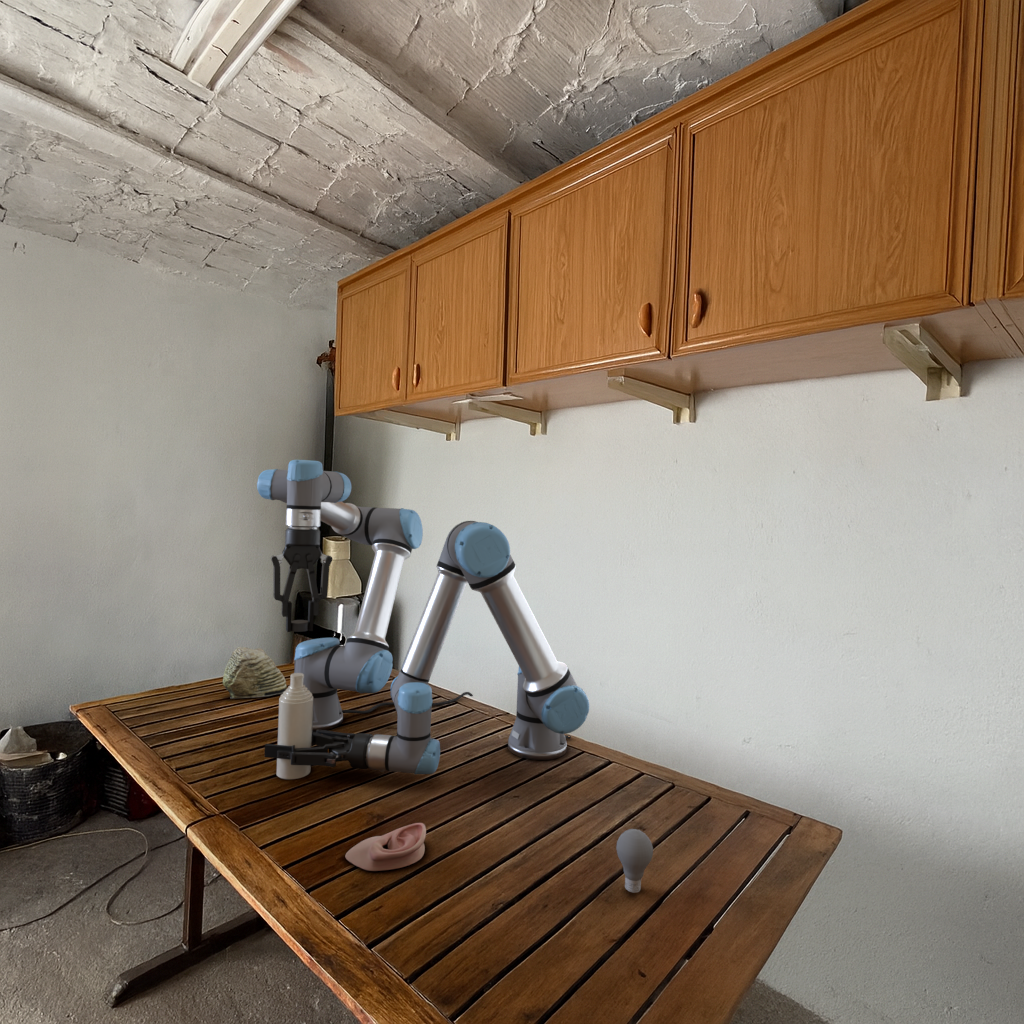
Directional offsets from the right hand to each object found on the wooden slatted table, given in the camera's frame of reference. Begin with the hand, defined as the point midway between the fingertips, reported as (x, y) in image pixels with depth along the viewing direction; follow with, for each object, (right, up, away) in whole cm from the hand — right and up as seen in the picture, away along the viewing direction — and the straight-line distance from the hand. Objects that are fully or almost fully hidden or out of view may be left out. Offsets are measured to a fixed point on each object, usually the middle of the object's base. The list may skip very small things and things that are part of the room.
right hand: (274, 743), depth 145 cm
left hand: (+6, +26, -1) cm, 27 cm away
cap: (+6, +28, -1) cm, 29 cm away
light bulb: (+75, -10, -40) cm, 85 cm away
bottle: (+5, -6, 0) cm, 8 cm away
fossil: (-26, -4, +53) cm, 59 cm away
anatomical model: (+32, -8, -32) cm, 46 cm away
